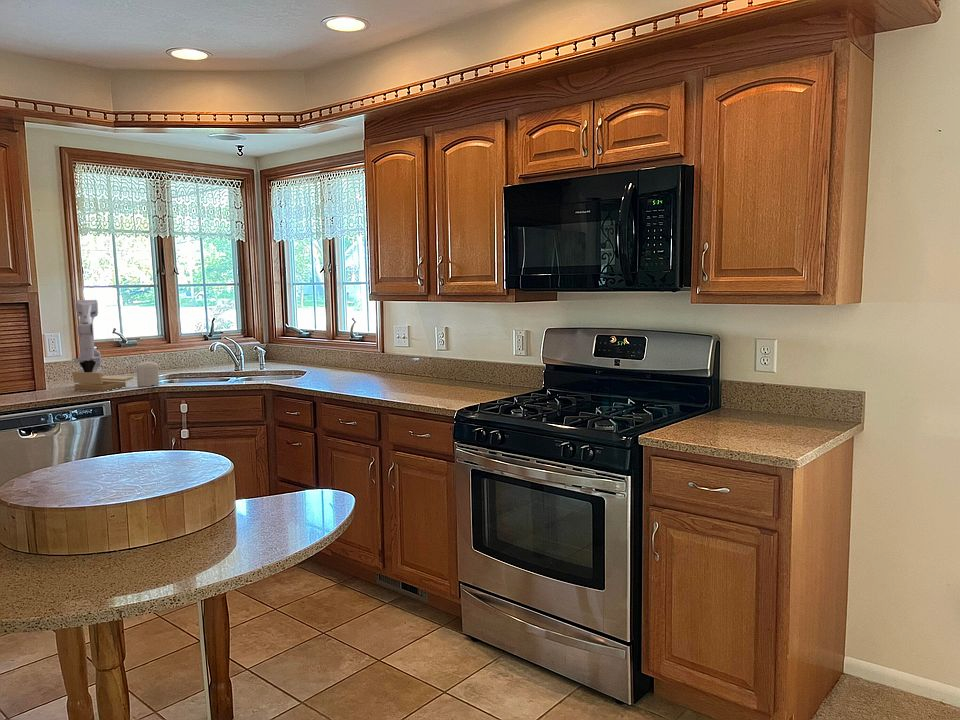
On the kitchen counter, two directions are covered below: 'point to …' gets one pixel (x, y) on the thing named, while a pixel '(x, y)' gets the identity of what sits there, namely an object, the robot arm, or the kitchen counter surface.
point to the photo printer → (147, 374)
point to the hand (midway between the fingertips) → (88, 376)
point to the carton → (100, 386)
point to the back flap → (117, 378)
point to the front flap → (87, 377)
